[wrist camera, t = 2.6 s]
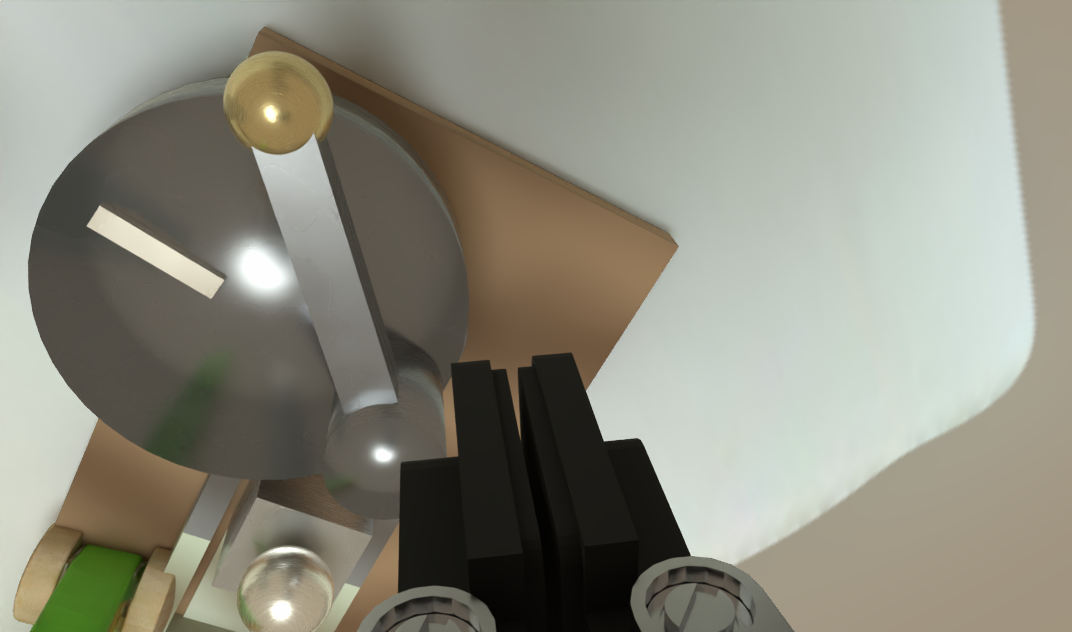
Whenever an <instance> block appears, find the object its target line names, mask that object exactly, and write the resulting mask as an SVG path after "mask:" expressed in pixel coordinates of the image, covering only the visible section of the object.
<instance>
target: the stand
mask: <svg viewBox="0 0 1072 632" xmlns="http://www.w3.org/2000/svg"><path fill="white" fill-rule="evenodd" d="M268 51H280V52H286V53H291V54H294V55H297V56H299V57H301V58H303V59H304V60H306V61H308V62H309V63H310V64H312V65H313V66H314V67H315V68H316V69H317V70H318V71H319V72H320V73H321V75H322V76H323V77H324V79H325V80H326V82H327V84H328V86H329V88H330V91H331V93H334V94H336V95H338V96H340V97H342V98H344V99H346V100H348V101H351V102H353V103H355V104H357V105H359V106H361V107H362V108H364V109H365V110H367V111H368V112H370V113H372V114H373V115H375V116H376V117H378V118H379V119H381V120H383V121H384V122H385V123H386V124H387V125H389V126H390V127H391V128H392V129H393V130H395V131H396V132H397V133H398V134H399V135H401V136H402V137H403V138H404V139H405V140H406V141H407V142H408V143H409V144H410V145H411V146H412V147H413V148H414V149H415V151H416V152H417V153H418V154H419V155H420V156H421V157H422V158H423V159H424V161H425V162H426V164H427V165H428V166H429V168H430V169H431V171H432V172H433V173H434V175H435V176H436V178H437V179H438V181H439V183H440V185H441V186H442V188H443V190H444V192H445V194H446V196H447V198H448V200H449V202H450V204H451V207H452V210H453V212H454V215H455V218H456V220H457V223H458V227H459V232H460V236H461V241H462V245H463V251H464V258H465V265H466V271H467V279H468V292H469V313H468V327H467V331H466V336H465V340H464V345H463V349H462V352H461V355H460V357H459V360H458V362H469V361H480V360H490V365H491V370H495V369H506V371H507V376H508V381H509V385H510V390H511V395H512V400H513V405H514V410H515V415H516V420H517V425H518V430H519V435H520V414H519V393H518V367H528V366H532V365H531V364H532V356H536V355H547V354H558V353H569V352H571V353H572V354H573V357H574V359H575V362H576V365H577V368H578V371H579V373H580V376H581V379H582V382H583V385H584V387H585V390H587V388H588V387H589V385H590V383H591V382H592V380H593V379H594V377H595V376H596V374H597V373H598V371H599V370H600V368H601V366H602V365H603V363H604V362H605V360H606V359H607V357H608V356H609V354H610V352H611V351H612V349H613V348H614V346H615V345H616V343H617V342H618V340H619V338H620V337H621V335H622V334H623V332H624V331H625V329H626V328H627V326H628V324H629V323H630V321H631V320H632V318H633V317H634V315H635V314H636V312H637V311H638V309H639V307H640V306H641V304H642V303H643V301H644V300H645V298H646V297H647V295H648V293H649V292H650V290H651V289H652V287H653V286H654V284H655V283H656V281H657V279H658V278H659V276H660V275H661V273H662V272H663V270H664V269H665V267H666V265H667V264H668V262H669V261H670V259H671V258H672V256H673V255H674V253H675V252H676V250H677V248H678V247H679V246H678V245H677V244H676V242H675V241H674V239H673V238H672V237H671V235H670V234H668V233H666V232H664V231H662V230H661V229H659V228H657V227H655V226H653V225H651V224H649V223H647V222H645V221H643V220H641V219H639V218H637V217H635V216H633V215H631V214H629V213H627V212H625V211H623V210H621V209H619V208H618V207H616V206H614V205H612V204H610V203H608V202H606V201H604V200H602V199H600V198H598V197H596V196H594V195H592V194H590V193H588V192H586V191H584V190H582V189H580V188H578V187H576V186H575V185H573V184H571V183H569V182H567V181H565V180H563V179H561V178H559V177H557V176H555V175H553V174H551V173H549V172H547V171H545V170H543V169H541V168H539V167H537V166H535V165H533V164H532V163H530V162H528V161H526V160H524V159H522V158H520V157H518V156H516V155H514V154H512V153H510V152H508V151H506V150H504V149H502V148H500V147H498V146H496V145H494V144H492V143H490V142H489V141H487V140H485V139H483V138H481V137H479V136H477V135H475V134H473V133H471V132H469V131H467V130H465V129H463V128H461V127H459V126H457V125H455V124H453V123H451V122H449V121H447V120H446V119H444V118H442V117H440V116H438V115H436V114H434V113H432V112H430V111H428V110H426V109H424V108H422V107H420V106H418V105H416V104H414V103H412V102H410V101H408V100H406V99H404V98H403V97H401V96H399V95H397V94H395V93H393V92H391V91H389V90H387V89H385V88H383V87H381V86H379V85H377V84H375V83H373V82H371V81H369V80H367V79H365V78H363V77H361V76H360V75H358V74H356V73H354V72H352V71H350V70H348V69H346V68H344V67H342V66H340V65H338V64H336V63H334V62H332V61H330V60H328V59H326V58H324V57H322V56H320V55H318V54H317V53H315V52H313V51H311V50H309V49H307V48H305V47H303V46H301V45H299V44H297V43H295V42H293V41H291V40H289V39H287V38H285V37H283V36H281V35H279V34H277V33H275V32H274V31H272V30H270V29H268V28H266V27H264V28H263V29H262V30H261V31H260V32H259V33H258V35H257V37H256V40H255V42H254V45H253V47H252V49H251V52H250V54H249V57H248V58H250V57H251V56H253V55H256V54H259V53H263V52H268ZM443 401H444V416H445V432H446V447H447V457H456V456H458V447H457V435H456V423H455V411H454V399H453V388H452V376H451V378H450V380H449V382H448V384H447V385H446V387H445V389H444V391H443ZM520 440H521V435H520ZM249 481H250V480H249V479H239V478H229V477H223V476H218V475H214V474H209V473H204V472H200V471H197V470H193V469H190V468H187V467H184V466H181V465H178V464H175V463H172V462H170V461H168V460H166V459H163V458H161V457H159V456H156V455H154V454H152V453H150V452H148V451H146V450H144V449H143V448H141V447H139V446H137V445H136V444H134V443H132V442H130V441H129V440H127V439H126V438H124V437H123V436H121V435H120V434H119V433H117V432H116V431H114V430H113V429H112V428H110V427H109V426H108V425H106V424H105V423H104V422H103V421H102V420H100V419H98V422H97V424H96V426H95V429H94V431H93V434H92V436H91V439H90V441H89V443H88V446H87V448H86V451H85V453H84V455H83V458H82V460H81V463H80V465H79V468H78V470H77V472H76V475H75V477H74V480H73V482H72V484H71V487H70V489H69V492H68V494H67V497H66V499H65V501H64V504H63V506H62V509H61V511H60V513H59V516H58V518H57V521H56V523H55V526H59V527H64V528H68V529H73V530H77V531H81V532H83V537H82V541H81V544H82V545H83V546H84V545H88V544H90V545H95V546H99V547H104V548H108V549H113V550H118V551H123V552H128V553H132V554H136V555H140V556H141V557H142V558H143V560H144V561H145V562H147V563H148V562H149V560H150V558H151V556H152V554H153V552H154V550H155V549H156V548H157V547H160V548H165V549H169V550H171V553H170V556H169V559H168V562H167V565H166V567H165V570H164V573H170V574H173V575H175V581H176V587H175V598H174V604H173V608H172V611H171V614H170V617H169V620H168V622H167V624H166V627H165V629H164V631H163V632H250V631H249V630H248V628H247V627H246V626H245V625H244V623H243V621H242V619H241V617H240V615H239V612H238V608H237V594H236V593H233V592H230V591H226V590H223V589H219V588H216V587H213V586H212V582H213V579H214V575H215V572H216V568H217V564H218V561H219V557H220V554H221V550H222V547H223V543H224V540H225V536H226V533H227V529H228V526H229V522H230V518H231V516H232V514H233V512H234V511H235V509H236V507H237V505H238V503H239V501H240V499H241V497H242V495H243V493H244V491H245V489H246V487H247V485H248V483H249ZM398 560H399V518H398V519H390V520H378V519H373V536H372V538H371V540H370V541H369V543H368V545H367V546H366V548H365V550H364V552H363V553H362V555H361V557H360V559H359V560H358V562H357V564H356V565H355V567H354V569H353V571H352V572H351V574H350V576H349V577H348V579H347V581H346V583H345V584H344V586H343V588H342V589H341V591H340V593H339V595H338V596H337V598H336V600H335V601H334V603H333V605H332V607H331V610H330V612H329V614H328V616H327V618H326V619H325V621H324V622H323V623H322V625H321V626H320V627H319V628H318V629H317V630H316V631H315V632H357V630H358V628H359V626H360V624H361V622H362V620H363V619H364V618H365V617H366V616H367V615H368V614H369V613H370V612H371V611H372V610H373V609H374V607H375V606H377V605H378V604H380V603H382V602H383V601H385V600H386V599H388V598H390V597H391V596H393V595H395V594H398Z"/></svg>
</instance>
